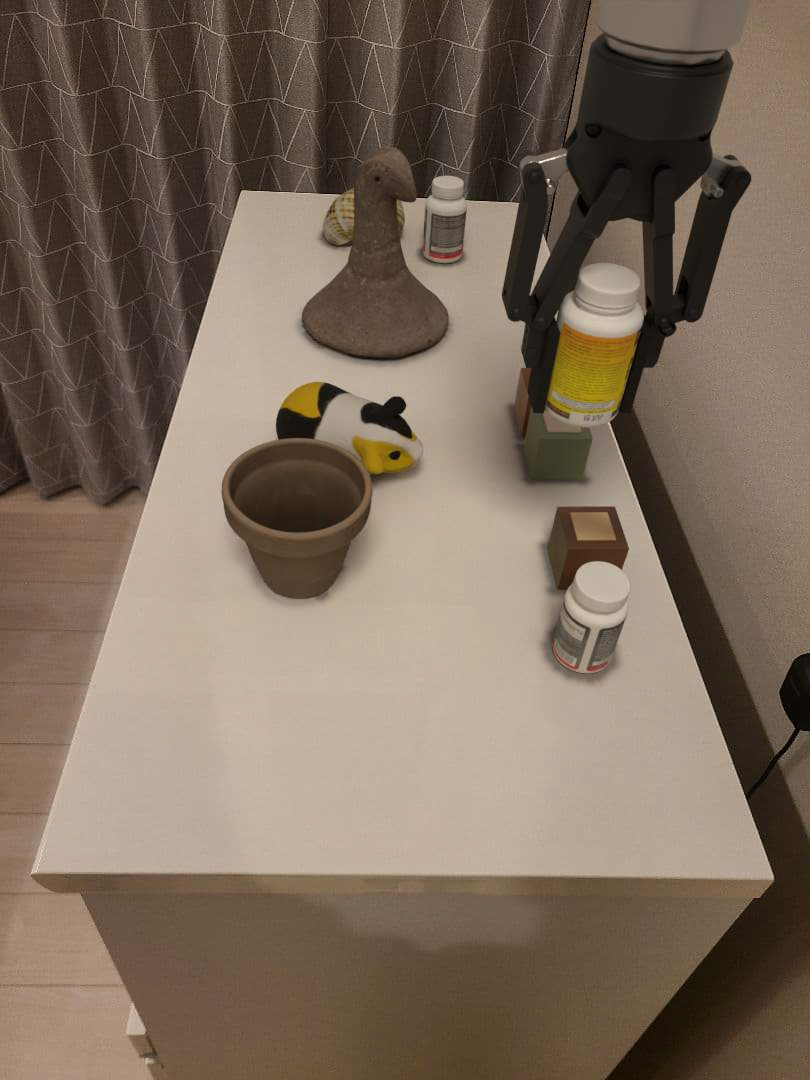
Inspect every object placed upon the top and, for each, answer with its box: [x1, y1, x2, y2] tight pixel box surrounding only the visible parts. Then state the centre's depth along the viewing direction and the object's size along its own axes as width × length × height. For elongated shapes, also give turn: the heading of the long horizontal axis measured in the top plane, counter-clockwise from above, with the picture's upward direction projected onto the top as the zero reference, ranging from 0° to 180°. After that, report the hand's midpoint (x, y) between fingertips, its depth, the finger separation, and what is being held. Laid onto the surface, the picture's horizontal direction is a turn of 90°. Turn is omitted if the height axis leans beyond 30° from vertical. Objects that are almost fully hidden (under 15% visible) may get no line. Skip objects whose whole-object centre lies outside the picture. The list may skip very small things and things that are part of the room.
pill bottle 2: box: [551, 561, 631, 674], centre depth 63 cm, size 5×5×8 cm
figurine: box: [275, 381, 424, 475], centre depth 78 cm, size 8×15×8 cm, turn 64°
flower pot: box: [221, 438, 374, 599], centre depth 67 cm, size 12×11×10 cm
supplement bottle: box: [545, 262, 645, 429], centre depth 57 cm, size 6×6×10 cm
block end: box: [513, 367, 532, 438], centre depth 85 cm, size 5×5×5 cm
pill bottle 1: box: [422, 175, 468, 264], centre depth 108 cm, size 5×5×10 cm
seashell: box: [322, 187, 406, 246], centre depth 112 cm, size 10×10×10 cm
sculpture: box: [301, 145, 449, 359], centre depth 92 cm, size 17×17×20 cm
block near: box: [547, 505, 630, 591], centre depth 70 cm, size 5×5×5 cm
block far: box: [523, 407, 594, 480], centre depth 80 cm, size 5×5×5 cm
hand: (578, 401), depth 60 cm, fingers closed on supplement bottle, 6 cm apart
